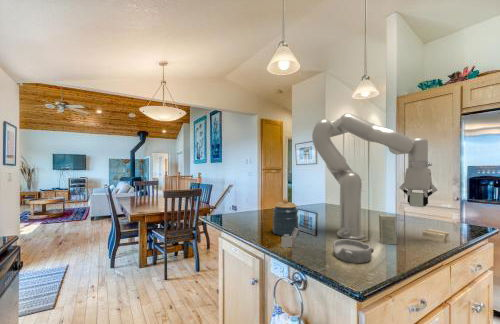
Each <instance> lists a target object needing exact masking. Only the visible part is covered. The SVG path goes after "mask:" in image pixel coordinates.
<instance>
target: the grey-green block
mask: <svg viewBox="0 0 500 324" xmlns="http://www.w3.org/2000/svg"><path fill="white" fill-rule="evenodd" d="M423 197H424V193H423V192H414V191H412V193H410V204H409V207H416V208H425V207H426V206H423Z"/></svg>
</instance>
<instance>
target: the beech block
mask: <svg viewBox="0 0 500 324" xmlns="http://www.w3.org/2000/svg"><path fill="white" fill-rule="evenodd" d="M422 240H423V241H429V242H431V243H432V242H433V243H438V244H442V245H443V244H446V243H448V242H450V232H449V231H441V230H438V229H430V228H428V229H426V230H423V231H422Z"/></svg>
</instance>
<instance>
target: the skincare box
mask: <svg viewBox="0 0 500 324" xmlns="http://www.w3.org/2000/svg"><path fill="white" fill-rule="evenodd" d="M396 218H397V217H396V216H395V215H394V214H378V222H379V223H378V229H379V230H378V231H379V242H380V244H387V245H397V221H396V220H397V219H396Z"/></svg>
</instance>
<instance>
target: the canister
mask: <svg viewBox="0 0 500 324" xmlns="http://www.w3.org/2000/svg"><path fill="white" fill-rule="evenodd" d="M297 206H298V205H296V204H295V203H294V202H291V201H289V200H288V198H283V200H282V201H280V202H276V204H274V208H273V209H272V212H273V215H272V232H273V235H275V234H277V235H276V236H279V235H281V237H284V235H285V234H289V236H291V234H292V232H293V230H294V228H297V229H299V215H298V212H299V209H297ZM298 234H299V232H298V233H297V235H298Z"/></svg>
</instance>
